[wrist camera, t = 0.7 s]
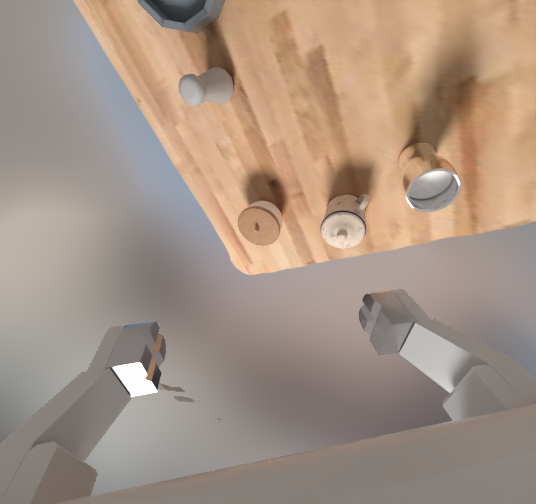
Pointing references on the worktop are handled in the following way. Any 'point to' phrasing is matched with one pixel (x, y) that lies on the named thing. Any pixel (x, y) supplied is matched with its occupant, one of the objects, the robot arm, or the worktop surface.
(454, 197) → the beer glass
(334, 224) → the teacup with lid
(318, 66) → the worktop surface
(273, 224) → the lidded jar
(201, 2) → the bowl
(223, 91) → the salt shaker
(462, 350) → the robot arm
